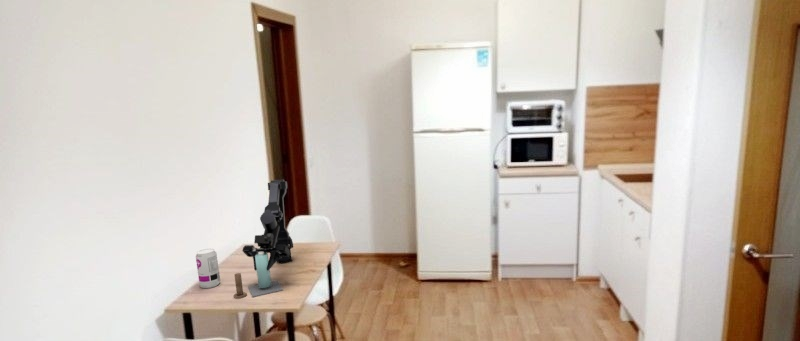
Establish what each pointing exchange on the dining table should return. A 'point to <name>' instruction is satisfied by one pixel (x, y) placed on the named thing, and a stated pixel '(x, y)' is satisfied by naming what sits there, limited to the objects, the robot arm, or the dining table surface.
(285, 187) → the robot arm
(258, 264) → the teal bottle
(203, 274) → the supplement can
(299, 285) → the dining table surface
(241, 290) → the walnut gate posts
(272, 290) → the charcoal rubber mat
